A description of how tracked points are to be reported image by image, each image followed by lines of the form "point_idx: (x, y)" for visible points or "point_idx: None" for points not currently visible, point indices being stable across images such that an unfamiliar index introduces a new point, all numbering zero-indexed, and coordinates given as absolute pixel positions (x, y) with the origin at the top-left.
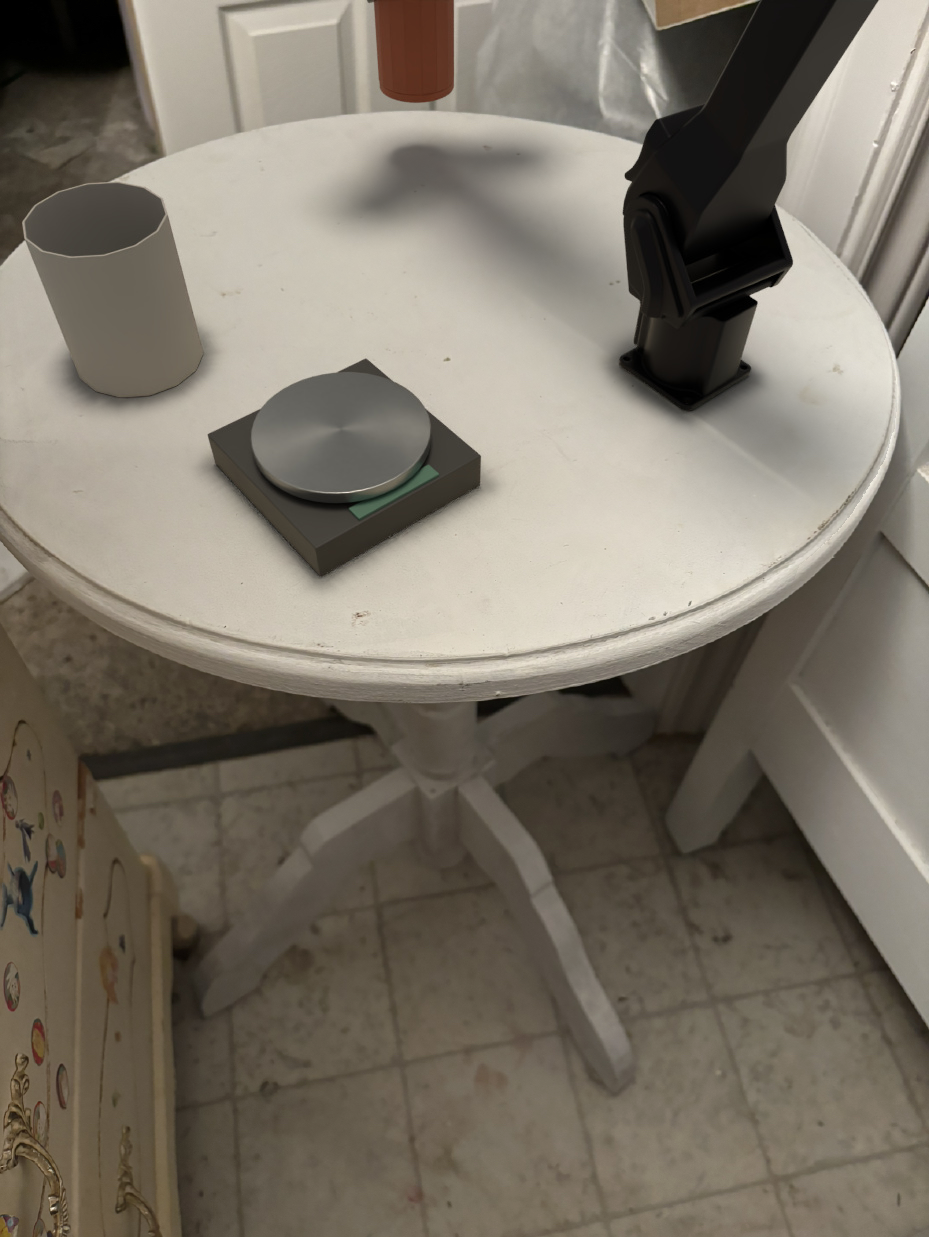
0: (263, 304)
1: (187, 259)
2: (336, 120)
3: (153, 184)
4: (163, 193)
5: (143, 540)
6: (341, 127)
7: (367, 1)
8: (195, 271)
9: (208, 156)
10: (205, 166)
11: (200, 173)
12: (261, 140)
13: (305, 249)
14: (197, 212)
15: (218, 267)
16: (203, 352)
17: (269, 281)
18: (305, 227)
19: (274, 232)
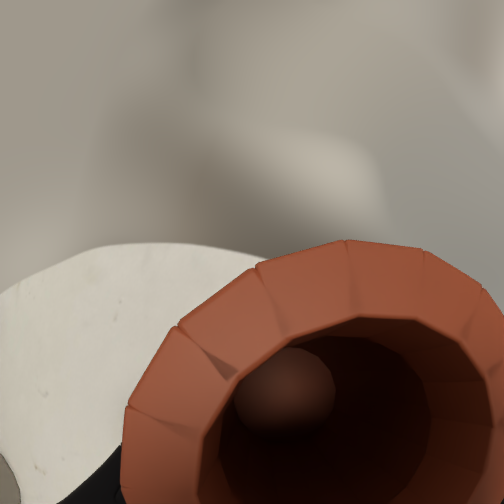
0: (56, 496)
1: (24, 411)
2: (231, 256)
3: (39, 289)
4: (38, 308)
5: None
6: (228, 274)
7: None
8: (25, 429)
9: (88, 266)
10: (79, 283)
11: (70, 292)
12: (141, 260)
13: (99, 466)
14: (46, 354)
15: (38, 437)
16: (20, 501)
17: (64, 479)
18: (110, 438)
19: (84, 427)
